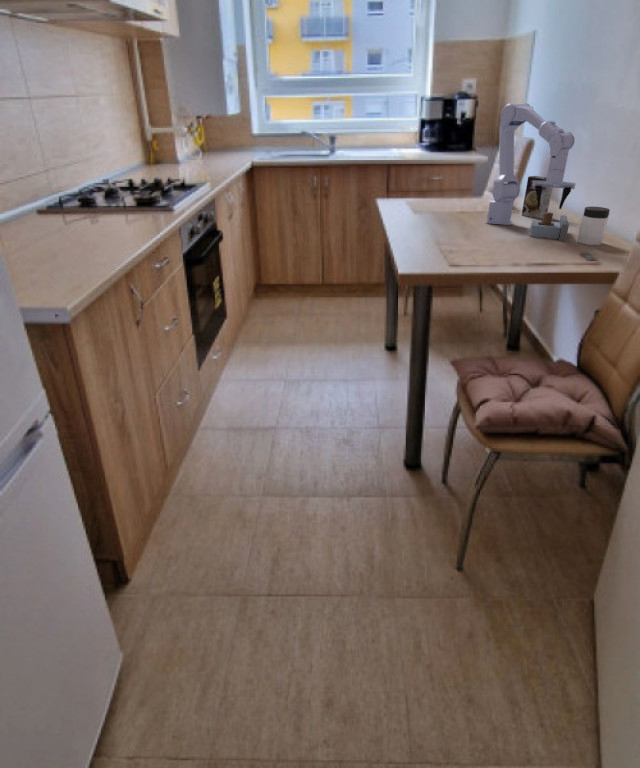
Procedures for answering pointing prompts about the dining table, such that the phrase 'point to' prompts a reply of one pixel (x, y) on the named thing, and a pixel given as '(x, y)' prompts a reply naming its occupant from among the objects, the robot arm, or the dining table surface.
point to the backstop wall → (563, 228)
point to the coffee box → (531, 198)
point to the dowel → (547, 218)
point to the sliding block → (545, 229)
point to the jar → (593, 225)
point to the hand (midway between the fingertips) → (549, 207)
